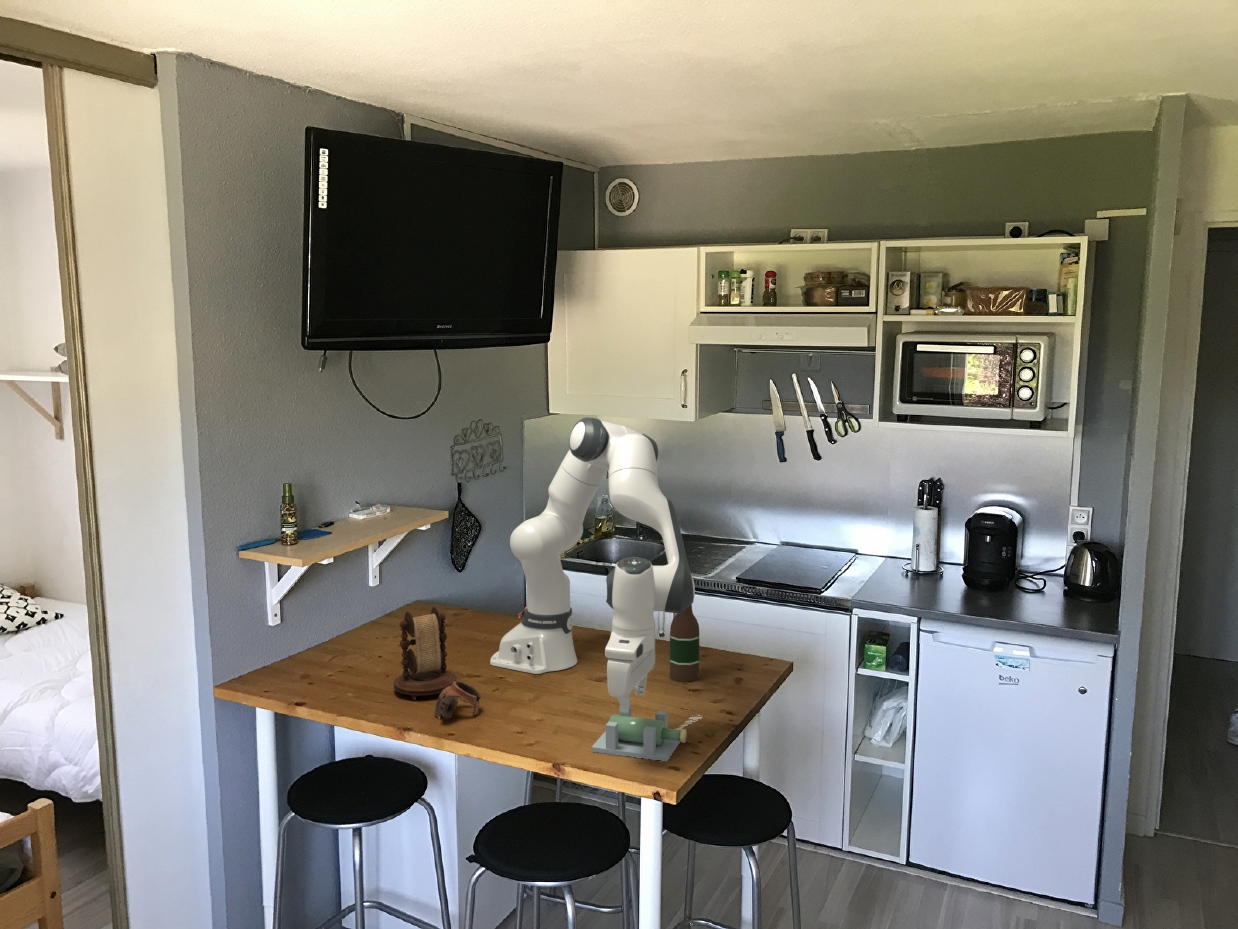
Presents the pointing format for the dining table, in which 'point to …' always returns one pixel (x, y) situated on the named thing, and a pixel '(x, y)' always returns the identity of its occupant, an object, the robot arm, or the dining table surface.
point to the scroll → (424, 656)
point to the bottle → (634, 727)
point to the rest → (639, 750)
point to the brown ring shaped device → (456, 699)
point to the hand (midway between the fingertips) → (632, 702)
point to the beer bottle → (684, 647)
